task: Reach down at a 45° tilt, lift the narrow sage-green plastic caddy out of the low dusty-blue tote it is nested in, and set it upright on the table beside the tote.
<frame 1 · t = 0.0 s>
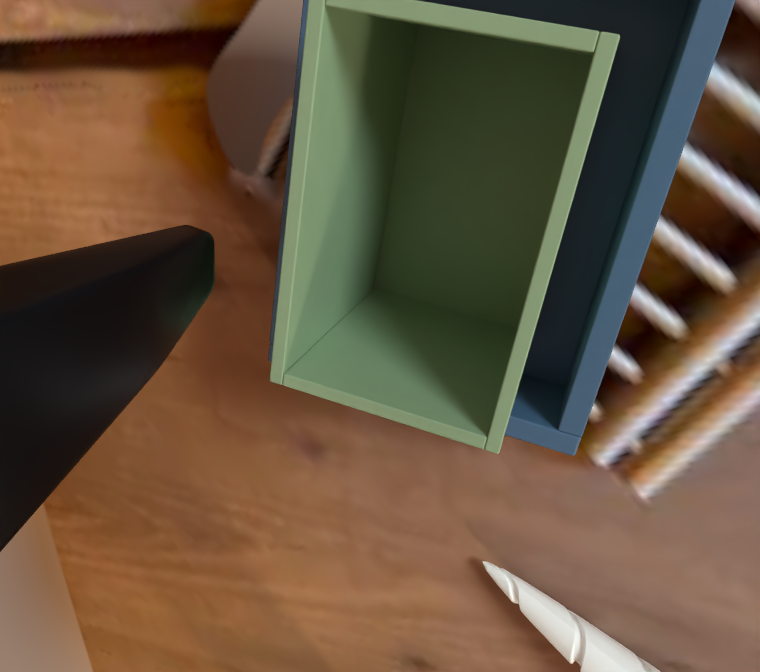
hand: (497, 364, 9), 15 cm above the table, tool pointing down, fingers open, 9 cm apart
caddy: (477, 183, 23), resting on tote
tote: (479, 181, 23), on the table
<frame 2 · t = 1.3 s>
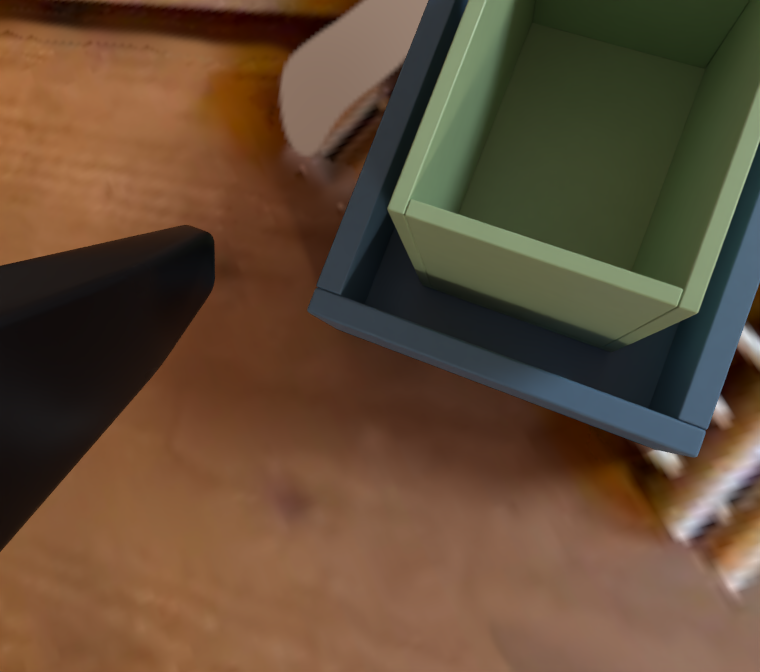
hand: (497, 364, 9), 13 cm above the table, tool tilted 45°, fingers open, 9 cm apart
caddy: (566, 179, 22), resting on tote
tote: (564, 185, 22), on the table
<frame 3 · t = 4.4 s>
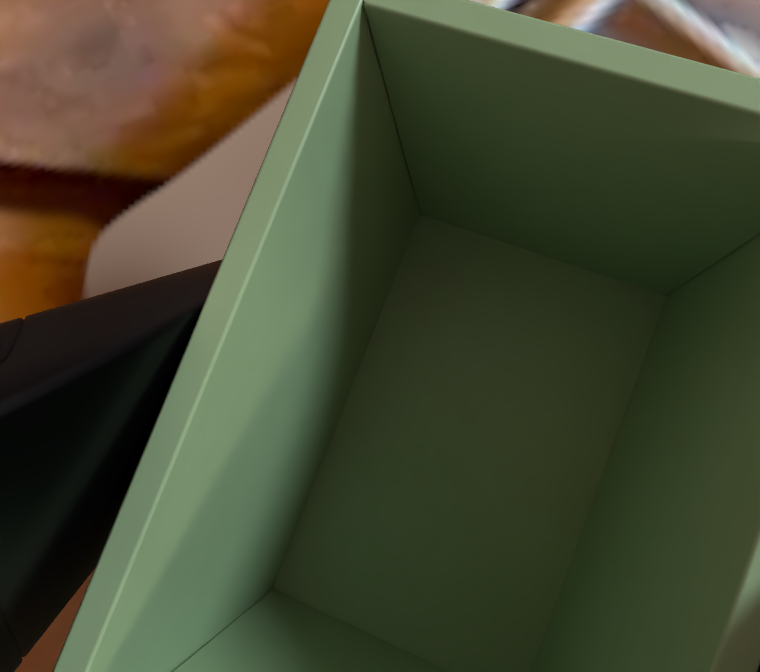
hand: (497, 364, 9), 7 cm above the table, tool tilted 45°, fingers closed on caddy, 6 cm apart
caddy: (466, 443, 15), point 1 cm above the table, touching gripper, tote
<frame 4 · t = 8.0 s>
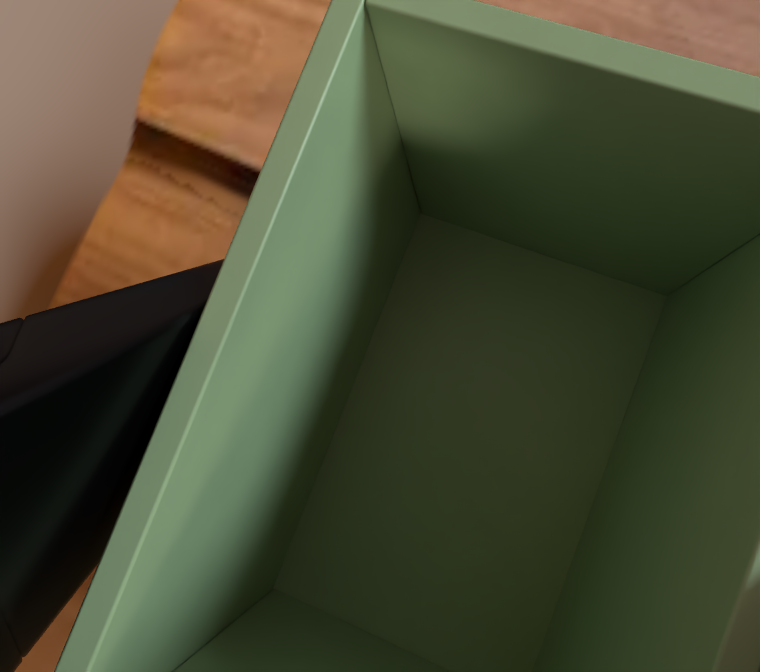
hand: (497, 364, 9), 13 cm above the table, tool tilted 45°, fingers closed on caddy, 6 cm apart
caddy: (467, 443, 15), point 7 cm above the table, touching gripper
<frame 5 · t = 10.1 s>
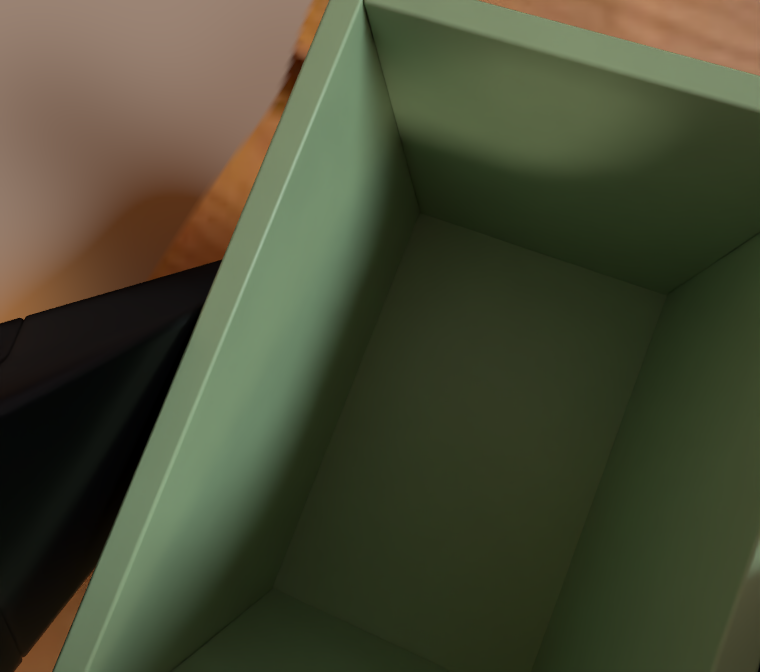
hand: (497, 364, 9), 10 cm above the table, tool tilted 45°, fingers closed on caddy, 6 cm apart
caddy: (467, 442, 15), point 3 cm above the table, touching gripper
when the fingers open (6 cm above the table, at t = 11.7 s): caddy stays where it is, on the table.
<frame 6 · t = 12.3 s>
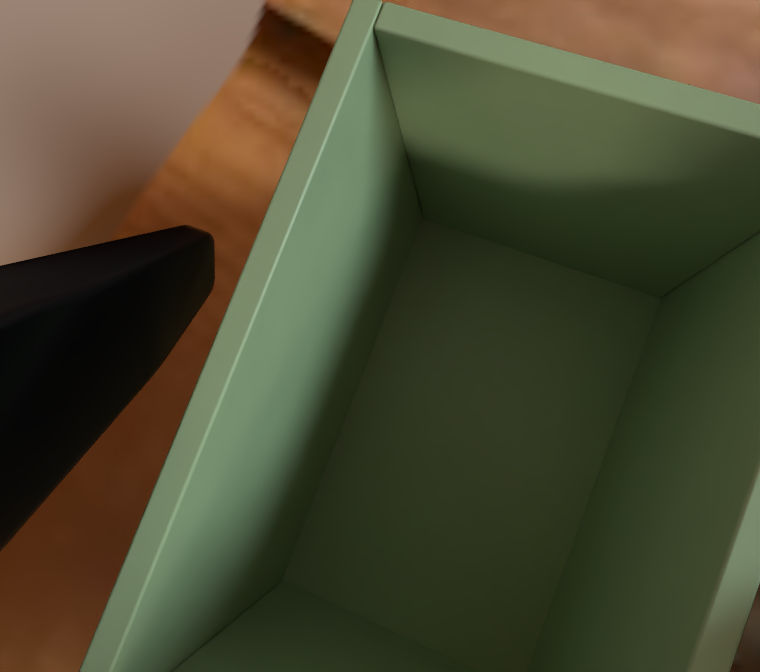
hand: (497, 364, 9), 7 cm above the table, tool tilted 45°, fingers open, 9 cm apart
caddy: (469, 440, 16), on the table
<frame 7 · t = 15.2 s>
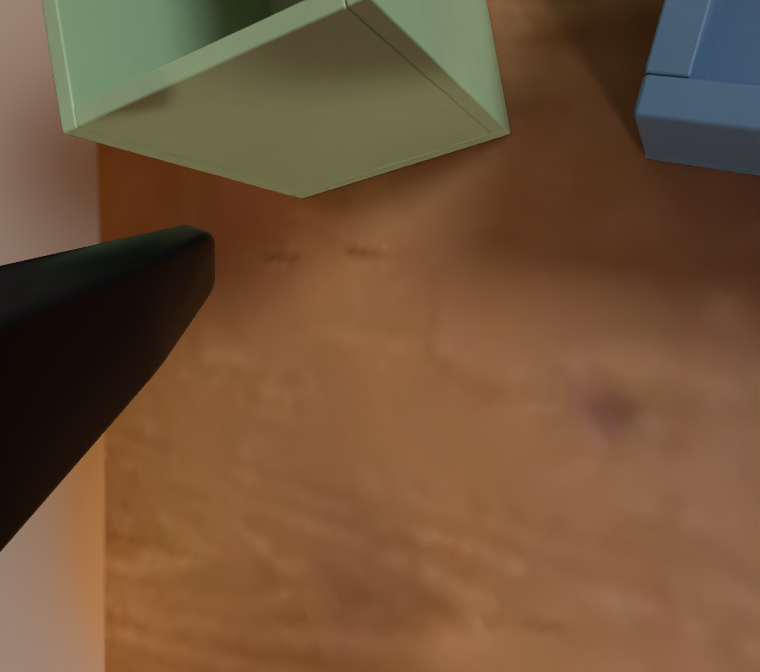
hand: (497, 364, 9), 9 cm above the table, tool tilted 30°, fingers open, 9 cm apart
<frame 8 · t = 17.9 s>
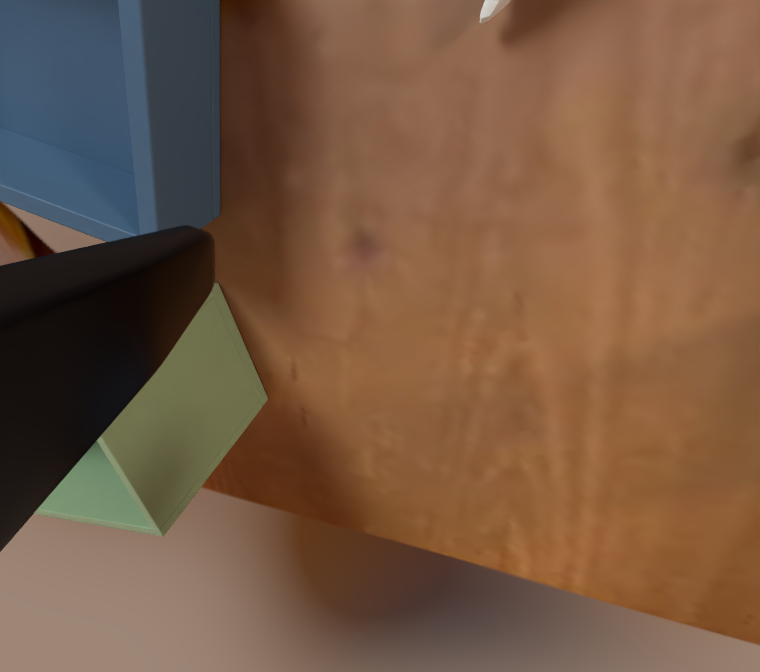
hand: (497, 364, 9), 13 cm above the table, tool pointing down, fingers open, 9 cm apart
caddy: (163, 343, 32), on the table
tote: (44, 17, 24), on the table
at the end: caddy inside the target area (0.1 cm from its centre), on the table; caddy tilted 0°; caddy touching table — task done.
